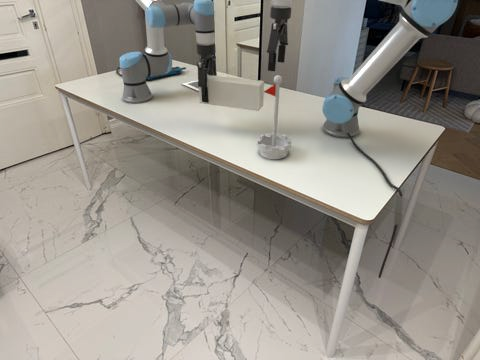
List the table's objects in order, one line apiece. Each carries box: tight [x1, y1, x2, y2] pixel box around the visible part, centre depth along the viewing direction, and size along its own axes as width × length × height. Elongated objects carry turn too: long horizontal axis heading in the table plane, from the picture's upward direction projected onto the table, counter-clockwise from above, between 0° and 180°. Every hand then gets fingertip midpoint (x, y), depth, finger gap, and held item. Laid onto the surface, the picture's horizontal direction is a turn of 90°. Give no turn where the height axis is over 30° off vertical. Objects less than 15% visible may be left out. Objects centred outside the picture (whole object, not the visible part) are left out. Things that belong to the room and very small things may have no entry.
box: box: [198, 75, 265, 112], centre depth 142 cm, size 27×6×11 cm, turn 70°
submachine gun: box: [146, 66, 187, 81], centre depth 223 cm, size 34×4×25 cm
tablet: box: [181, 79, 199, 93], centre depth 200 cm, size 32×20×1 cm, turn 41°
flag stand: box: [256, 74, 292, 160], centre depth 125 cm, size 13×13×30 cm
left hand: (208, 99), depth 148 cm, fingers closed on box, 7 cm apart
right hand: (276, 66), depth 134 cm, fingers open, 13 cm apart
